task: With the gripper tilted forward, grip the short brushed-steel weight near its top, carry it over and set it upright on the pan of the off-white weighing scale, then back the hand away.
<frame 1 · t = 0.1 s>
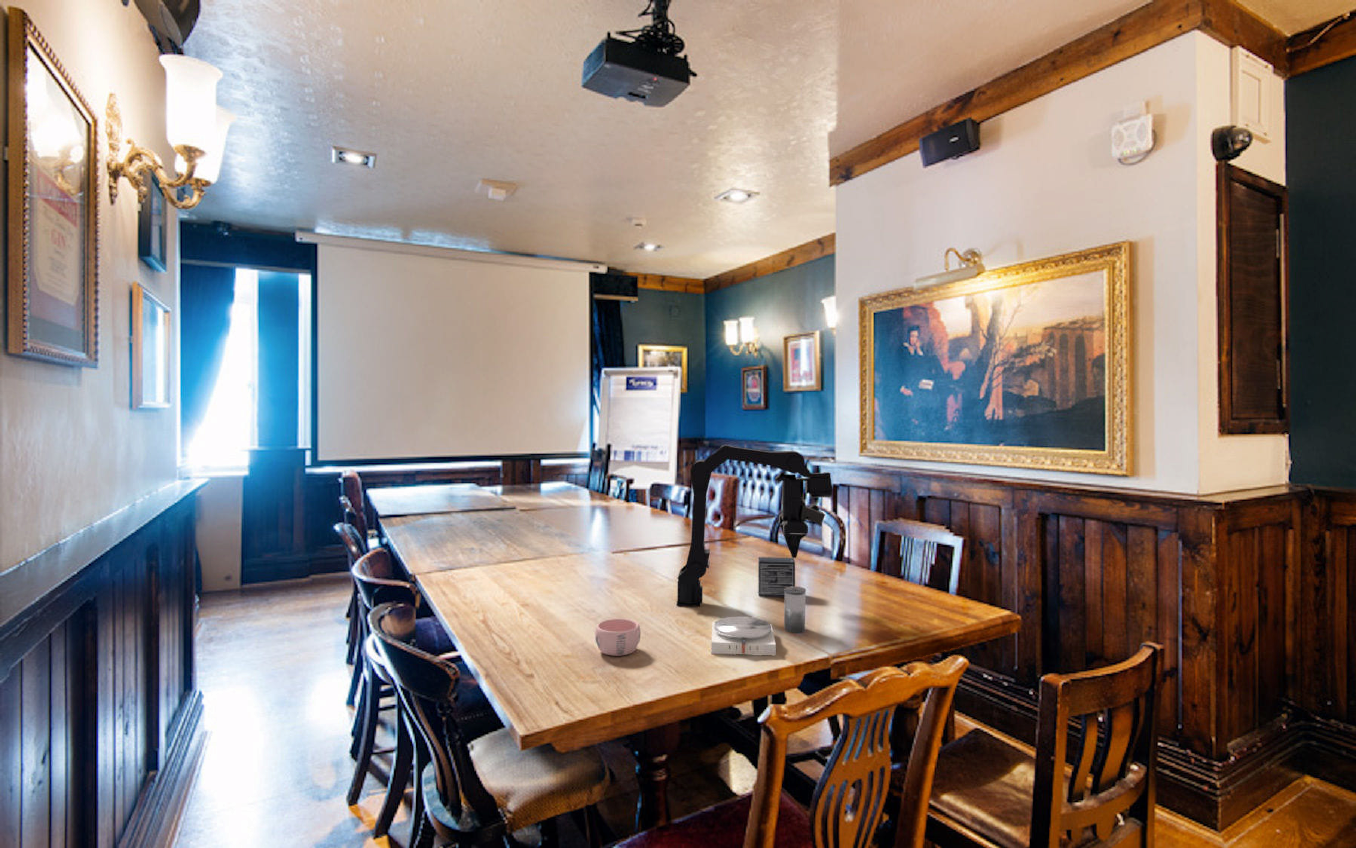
hand: (792, 554, 177), 15 cm above the table, tool pointing down, fingers open, 9 cm apart
scale pan: (742, 634, 148), point 2 cm above the table, slide at -0.4 cm
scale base: (742, 643, 149), on the table
mug: (616, 651, 144), on the table
small box: (776, 595, 190), on the table
steel weight: (794, 629, 159), on the table
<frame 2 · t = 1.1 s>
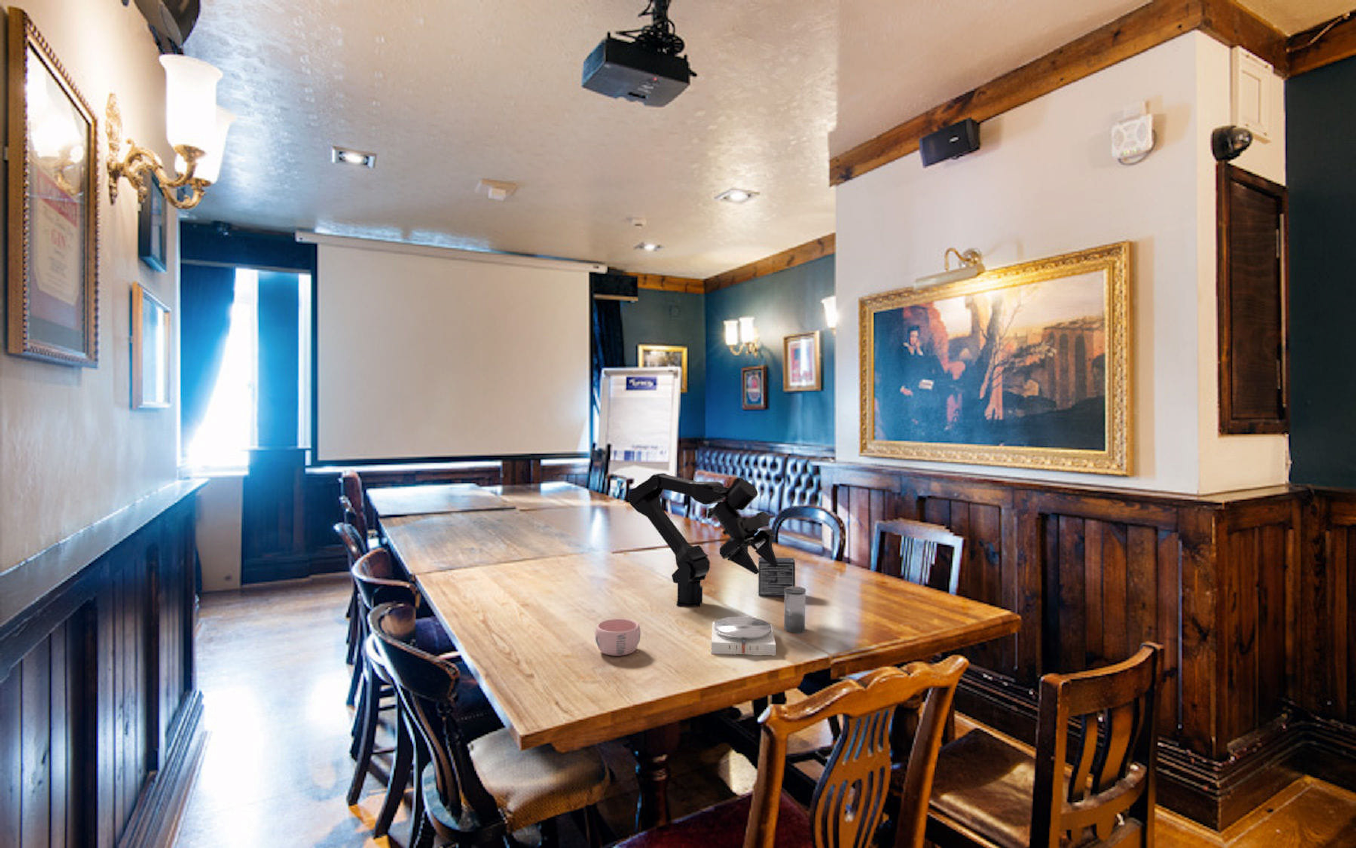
hand: (767, 570, 164), 13 cm above the table, tool tilted 45°, fingers open, 9 cm apart
nothing on the table moved.
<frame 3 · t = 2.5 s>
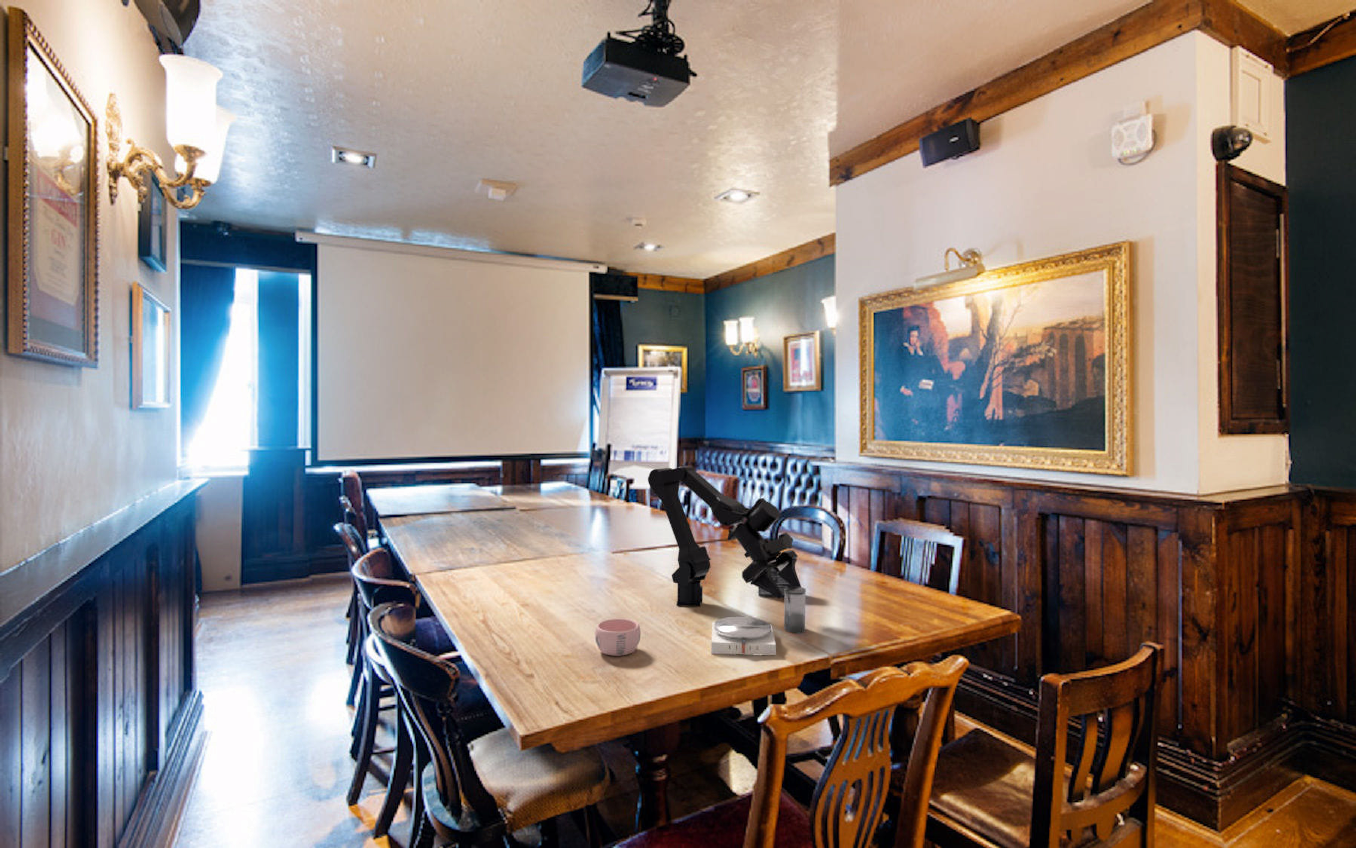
hand: (791, 593, 159), 9 cm above the table, tool tilted 45°, fingers open, 9 cm apart
nothing on the table moved.
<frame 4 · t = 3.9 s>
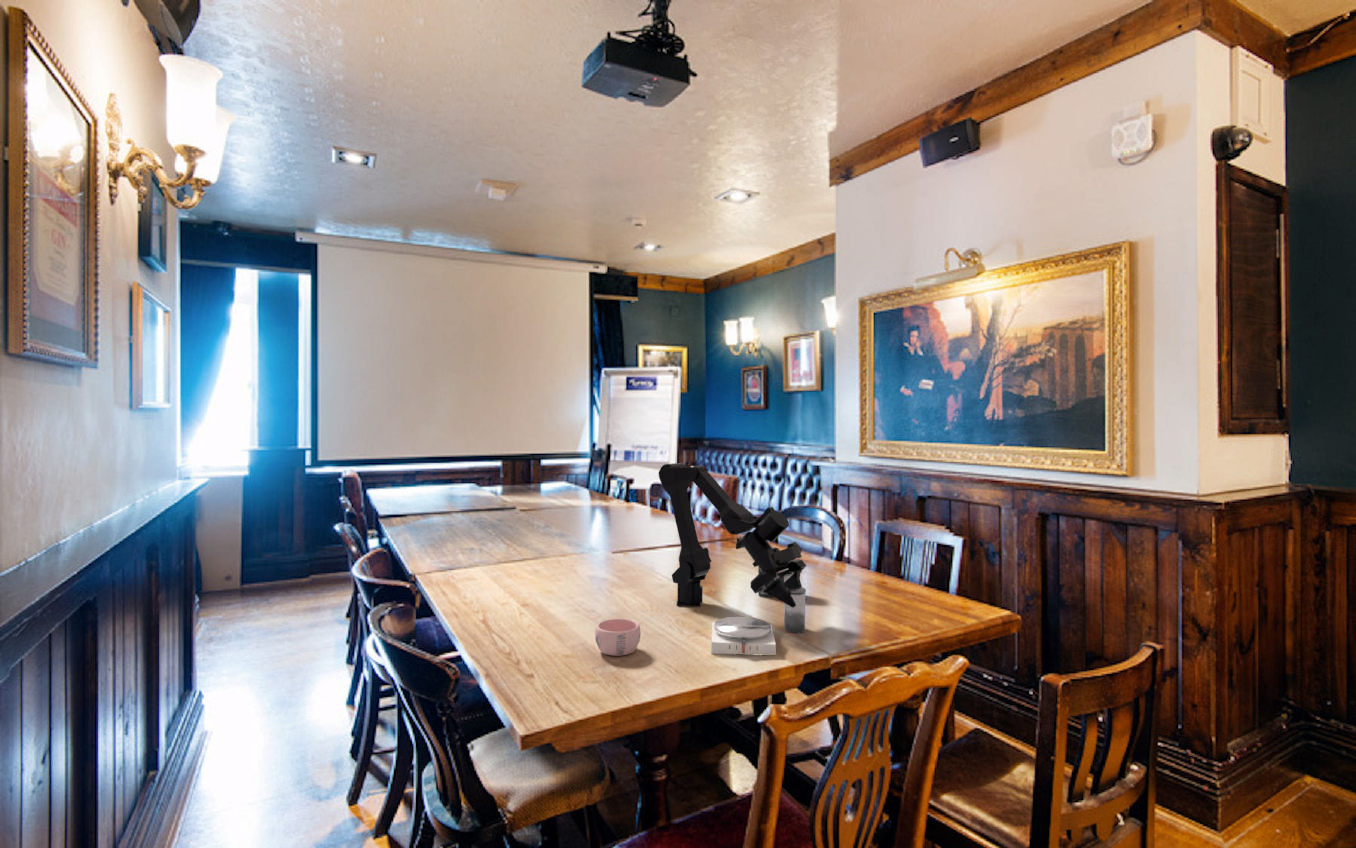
hand: (799, 604, 158), 7 cm above the table, tool tilted 45°, fingers closed on steel weight, 5 cm apart
steel weight: (794, 629, 159), on the table, touching gripper
everything else where it was.
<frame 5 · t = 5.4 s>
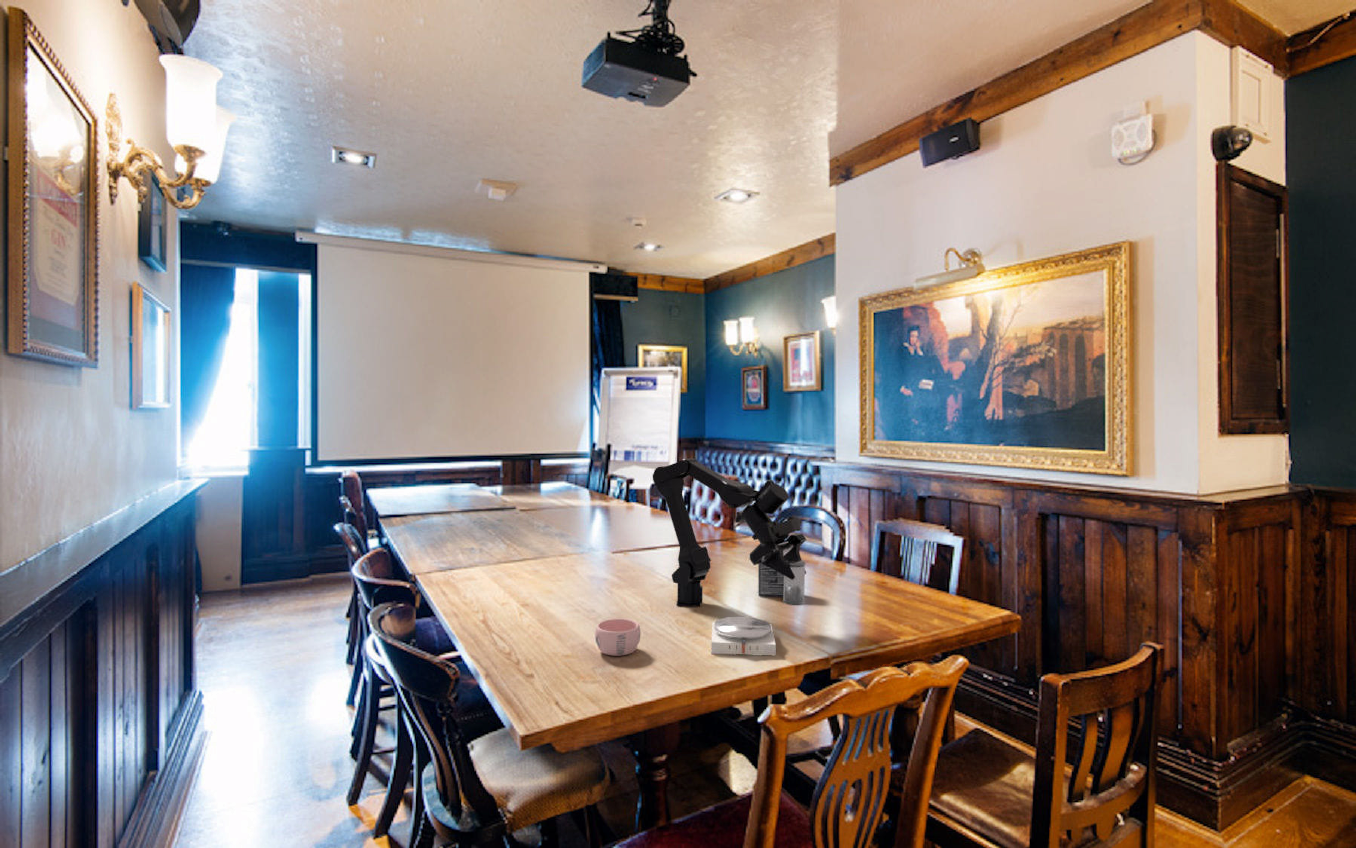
hand: (799, 576, 157), 13 cm above the table, tool tilted 45°, fingers closed on steel weight, 5 cm apart
steel weight: (793, 602, 158), point 7 cm above the table, touching gripper
everything else where it was.
when the fingers open (12 cm above the table, at t = 7.3 s): steel weight drops 2 cm, resting on scale pan.
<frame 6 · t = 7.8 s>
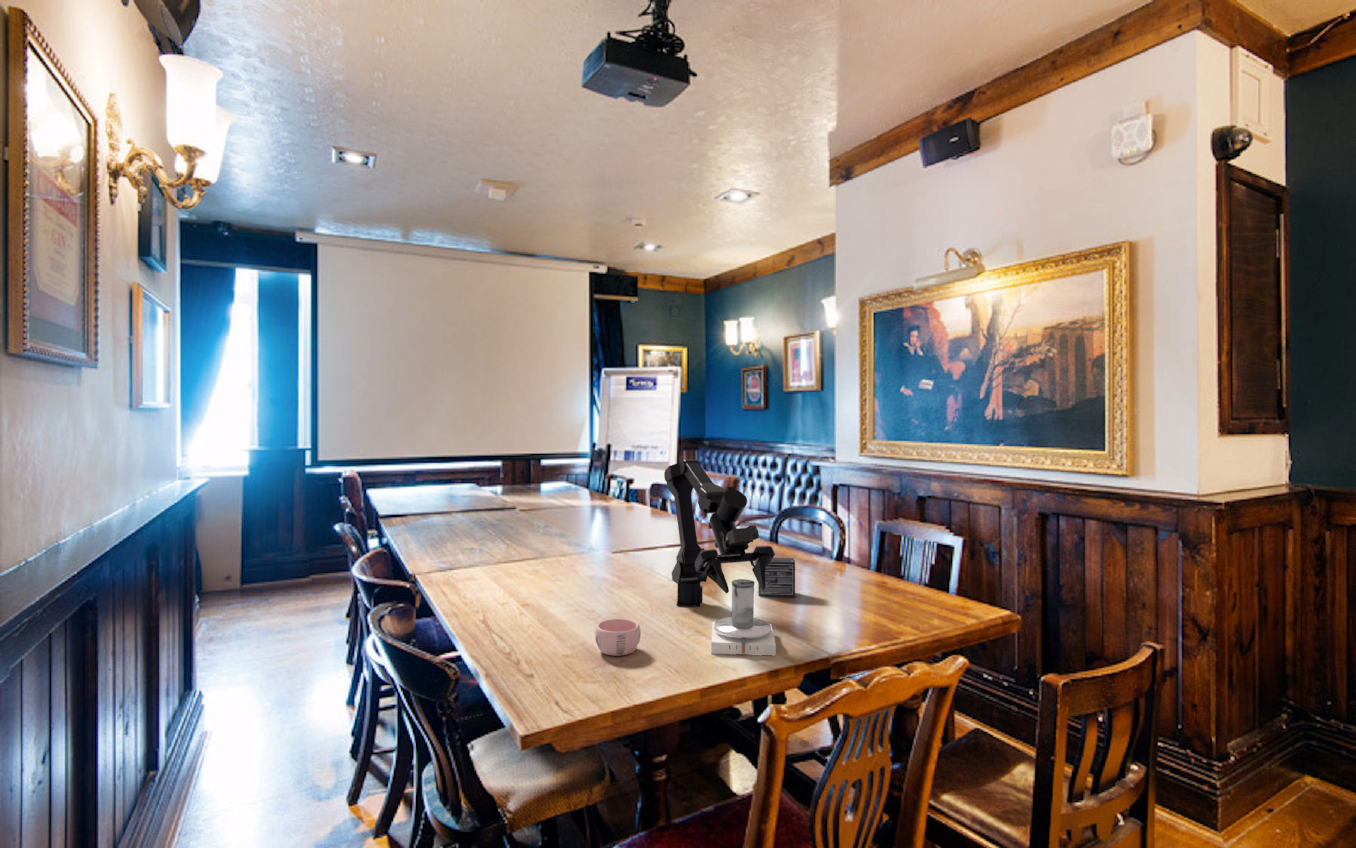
hand: (745, 590, 147), 13 cm above the table, tool tilted 45°, fingers open, 9 cm apart
scale pan: (742, 634, 148), point 2 cm above the table, slide at -0.5 cm, touching steel weight
steel weight: (742, 625, 149), point 4 cm above the table, touching scale pan
everything else where it was.
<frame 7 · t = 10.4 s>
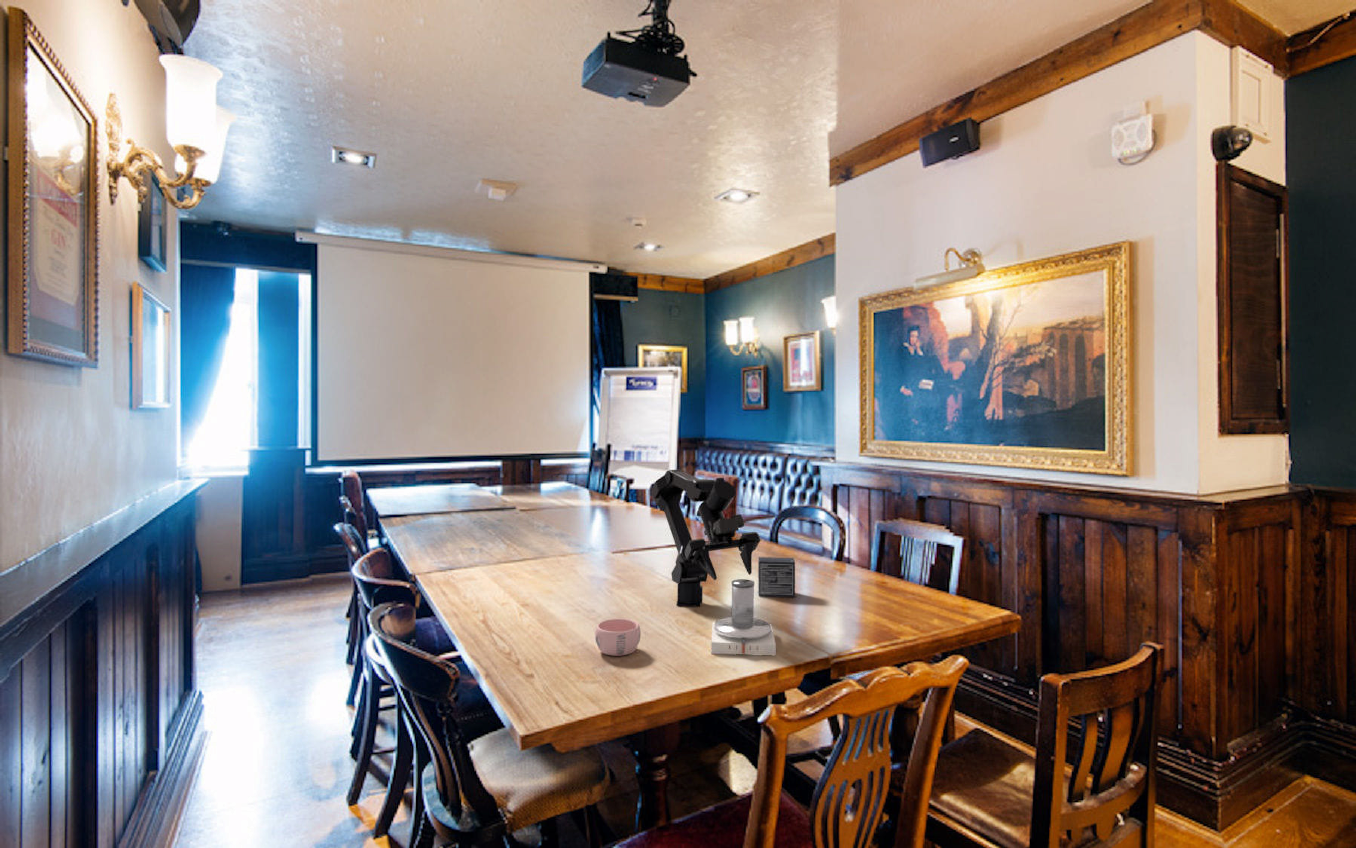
hand: (733, 576, 157), 13 cm above the table, tool tilted 40°, fingers open, 9 cm apart
nothing on the table moved.
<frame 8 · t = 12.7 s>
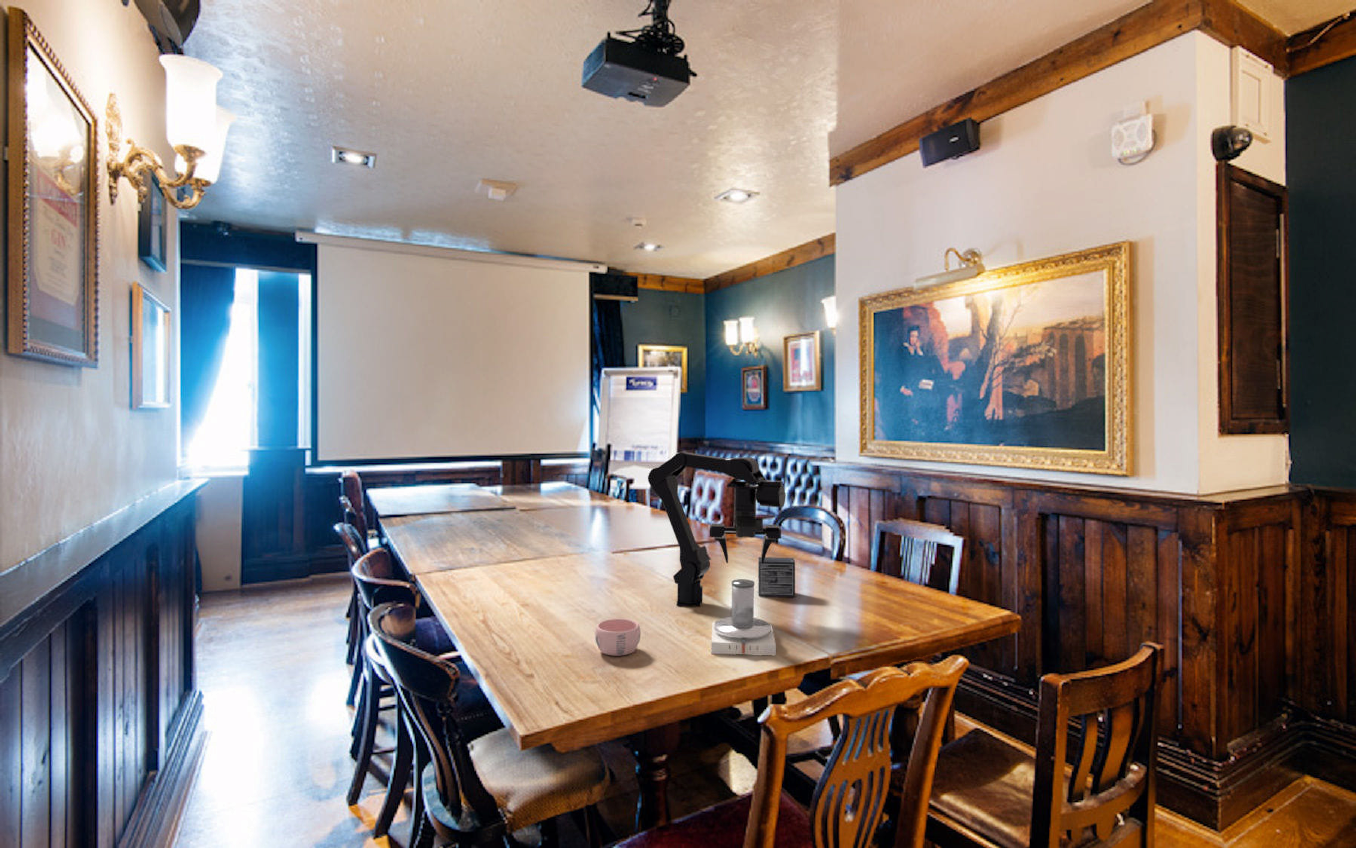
hand: (744, 563, 172), 13 cm above the table, tool pointing down, fingers open, 9 cm apart
nothing on the table moved.
at the end: steel weight inside the target area on the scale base (0.1 cm from its centre), point 4.1 cm above the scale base's base; steel weight tilted 0°; the gripper is holding nothing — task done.
